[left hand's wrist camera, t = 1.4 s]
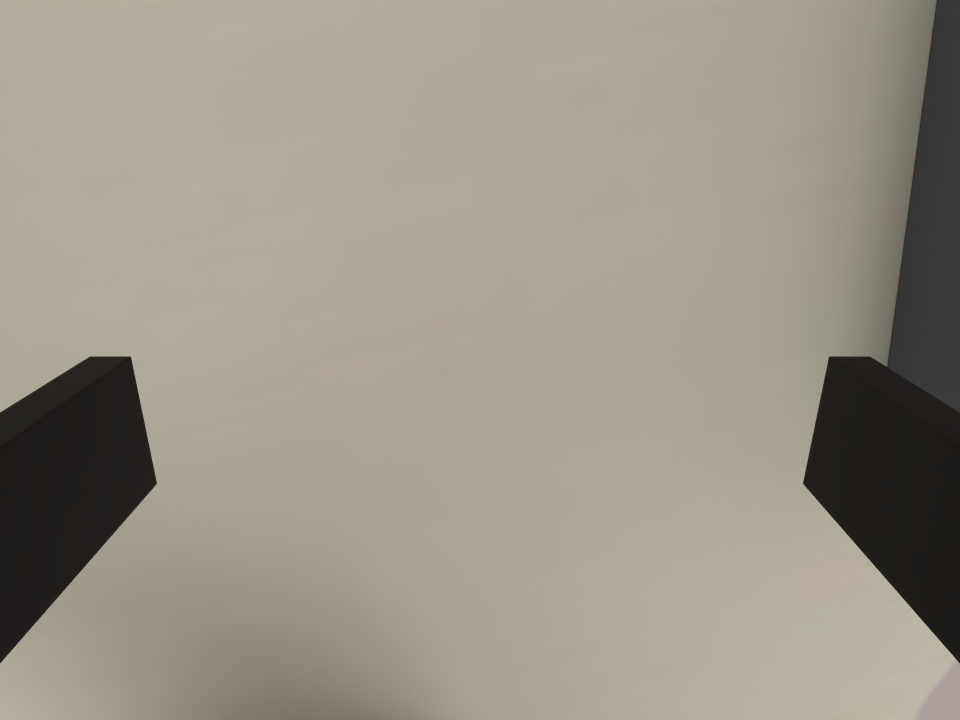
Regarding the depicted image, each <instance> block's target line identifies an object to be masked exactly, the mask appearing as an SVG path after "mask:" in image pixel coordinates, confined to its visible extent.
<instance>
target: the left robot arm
mask: <svg viewBox="0 0 960 720" xmlns="http://www.w3.org/2000/svg"><path fill="white" fill-rule="evenodd" d="M156 484H157V482H156V477H155V472H154V467H153V462H152V457H151V452H150V448H149V443H148V438H147V433H146V428H145V423H144V418H143V414H142V409H141V404H140V399H139V394H138V389H137V384H136V380H135V375H134V370H133V365H132V360H131V357H89V358H87V359H85V360H84V361H82V362H81V363H79V364H77V365H76V366H74V367H73V368H71V369H69V370H68V371H66V372H65V373H63V374H61V375H60V376H58V377H57V378H55V379H53V380H52V381H50V382H49V383H47V384H45V385H44V386H42V387H41V388H39V389H37V390H36V391H34V392H32V393H31V394H29V395H28V396H26V397H24V398H23V399H21V400H20V401H18V402H16V403H15V404H13V405H12V406H10V407H8V408H7V409H5V410H4V411H2V412H0V663H1V662H2V661H3V660H4V658H5V657H6V656H7V655H8V654H9V653H10V651H11V650H12V649H13V648H14V647H15V646H16V645H17V643H18V642H19V641H20V640H21V639H22V638H23V637H24V635H25V634H26V633H27V632H28V631H29V630H30V629H31V627H32V626H33V625H34V624H35V623H36V622H37V621H38V619H39V618H40V617H41V616H42V615H43V614H44V613H45V611H46V610H47V609H48V608H49V607H50V606H51V605H52V603H53V602H54V601H55V600H56V599H57V598H58V596H59V595H60V594H61V593H62V592H63V591H64V590H65V588H66V587H67V586H68V585H69V584H70V583H71V582H72V580H73V579H74V578H75V577H76V576H77V575H78V574H79V572H80V571H81V570H82V569H83V568H84V567H85V566H86V564H87V563H88V562H89V561H90V560H91V559H92V558H93V556H94V555H95V554H96V553H97V552H98V551H99V550H100V548H101V547H102V546H103V545H104V544H105V543H106V541H107V540H108V539H109V538H110V537H111V536H112V535H113V533H114V532H115V531H116V530H117V529H118V528H119V527H120V525H121V524H122V523H123V522H124V521H125V520H126V519H127V517H128V516H129V515H130V514H131V513H132V512H133V511H134V509H135V508H136V507H137V506H138V505H139V504H140V503H141V501H142V500H143V499H144V498H145V497H146V496H147V495H148V493H149V492H150V491H151V490H152V489H153V488H154V486H155V485H156ZM803 484H804V485H805V486H806V488H807V489H808V490H809V491H810V492H811V493H812V495H813V496H814V497H815V498H816V499H817V500H818V501H819V503H820V504H821V505H822V506H823V507H824V508H825V509H826V511H827V512H828V513H829V514H830V515H831V516H832V517H833V519H834V520H835V521H836V522H837V523H838V524H839V525H840V527H841V528H842V529H843V530H844V531H845V532H846V533H847V535H848V536H849V537H850V538H851V539H852V540H853V541H854V543H855V544H856V545H857V546H858V547H859V548H860V550H861V551H862V552H863V553H864V554H865V555H866V556H867V558H868V559H869V560H870V561H871V562H872V563H873V564H874V566H875V567H876V568H877V569H878V570H879V571H880V572H881V574H882V575H883V576H884V577H885V578H886V579H887V580H888V582H889V583H890V584H891V585H892V586H893V587H894V588H895V590H896V591H897V592H898V593H899V594H900V595H901V596H902V598H903V599H904V600H905V601H906V602H907V603H908V605H909V606H910V607H911V608H912V609H913V610H914V611H915V613H916V614H917V615H918V616H919V617H920V618H921V619H922V621H923V622H924V623H925V624H926V625H927V626H928V627H929V629H930V630H931V631H932V632H933V633H934V634H935V635H936V637H937V638H938V639H939V640H940V641H941V642H942V643H943V645H944V646H945V647H946V648H947V649H948V650H949V651H950V653H951V654H952V655H953V656H954V657H955V658H956V660H957V661H958V662H959V663H960V412H958V411H956V410H955V409H953V408H952V407H950V406H948V405H947V404H945V403H944V402H942V401H940V400H939V399H937V398H936V397H934V396H932V395H931V394H929V393H928V392H926V391H924V390H923V389H921V388H919V387H918V386H916V385H915V384H913V383H911V382H910V381H908V380H907V379H905V378H903V377H902V376H900V375H899V374H897V373H895V372H894V371H892V370H891V369H889V368H887V367H886V366H884V365H883V364H881V363H879V362H878V361H876V360H875V359H873V358H871V357H829V360H828V365H827V370H826V375H825V380H824V384H823V389H822V394H821V399H820V404H819V409H818V414H817V418H816V423H815V428H814V433H813V438H812V443H811V448H810V452H809V457H808V462H807V467H806V472H805V477H804V482H803Z"/></svg>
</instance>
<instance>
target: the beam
mask: <svg viewBox="0 0 960 720" xmlns="http://www.w3.org/2000/svg"><path fill="white" fill-rule="evenodd" d="M888 368H889V369H891V370H892V371H894V372H895V373H897V374H899V375H900V376H902V377H903V378H905V379H907V380H908V381H910V382H911V383H913V384H915V385H916V386H918V387H919V388H921V389H923V390H924V391H926V392H928V393H929V394H931V395H932V396H934V397H936V398H937V399H939V400H940V401H942V402H944V403H945V404H947V405H948V406H950V407H952V408H953V409H955V410H956V411H958V412H960V0H937V8H936V15H935V22H934V30H933V37H932V44H931V52H930V59H929V67H928V74H927V81H926V89H925V96H924V103H923V111H922V118H921V126H920V133H919V140H918V148H917V155H916V162H915V170H914V177H913V185H912V192H911V199H910V207H909V214H908V221H907V229H906V236H905V244H904V251H903V258H902V266H901V273H900V280H899V288H898V295H897V303H896V310H895V317H894V325H893V332H892V339H891V347H890V354H889V362H888Z"/></svg>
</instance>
